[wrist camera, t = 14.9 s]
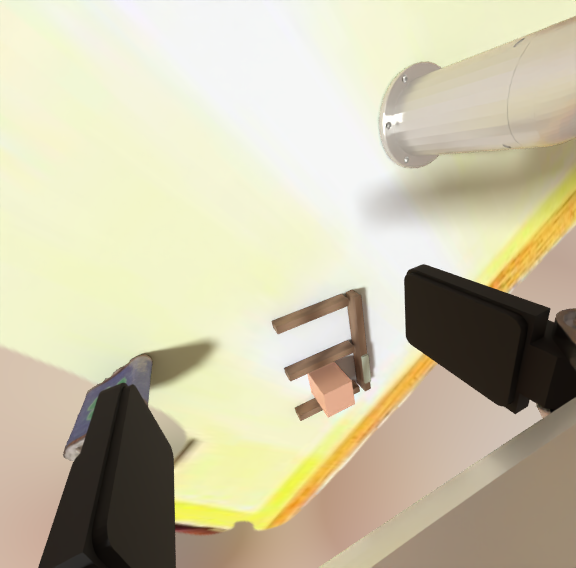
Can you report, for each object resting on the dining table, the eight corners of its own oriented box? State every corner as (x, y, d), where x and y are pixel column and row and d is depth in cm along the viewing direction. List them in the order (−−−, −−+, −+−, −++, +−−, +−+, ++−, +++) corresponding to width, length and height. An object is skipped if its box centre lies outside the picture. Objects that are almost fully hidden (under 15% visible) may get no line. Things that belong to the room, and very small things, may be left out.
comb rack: (352, 289, 46) (362, 296, 43) (362, 379, 54) (372, 389, 51) (271, 321, 42) (278, 330, 40) (296, 412, 50) (302, 425, 48)
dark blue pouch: (143, 349, 36) (135, 410, 27) (159, 363, 38) (156, 425, 29) (79, 394, 35) (48, 473, 26) (98, 407, 37) (75, 486, 28)
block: (332, 359, 49) (351, 381, 44) (336, 380, 52) (354, 403, 46) (306, 371, 48) (323, 394, 43) (311, 392, 50) (328, 417, 45)
